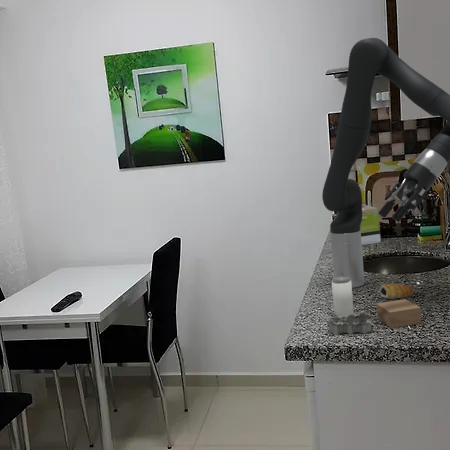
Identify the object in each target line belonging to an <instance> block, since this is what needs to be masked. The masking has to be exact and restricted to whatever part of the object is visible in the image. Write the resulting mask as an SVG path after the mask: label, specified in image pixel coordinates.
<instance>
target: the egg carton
mask: <svg viewBox="0 0 450 450" xmlns="http://www.w3.org/2000/svg"><path fill="white" fill-rule="evenodd" d="M327 322H328V331H329V332H328V333H330V334H334V335H339V334H341V333H346V334H349V335H352V334H354V333H361V334H368V333H369V332H372V317H371V312H370V310H369V309H368V310H366V309H363V310H358V311H357V312H356V313H354V314H351V315H347V316H345V315H342V316H335V317H334V316H328V318H327Z"/></svg>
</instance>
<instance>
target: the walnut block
mask: <svg viewBox="0 0 450 450" xmlns="http://www.w3.org/2000/svg"><path fill="white" fill-rule="evenodd" d="M376 317H377V320H379V321H380V322H382V323H383V324H384V325H385V326H388V327H389V328H390V329H395V328H400V327H406V326H412V325H418V324H422V309H421V307H420V306H419V305H417V304H415V303H414V302H412V301H409V300H407V299H405V298H404V299H403V298H402V299H397V300H392V301H385V302H378V303H376Z"/></svg>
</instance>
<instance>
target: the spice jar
mask: <svg viewBox="0 0 450 450" xmlns="http://www.w3.org/2000/svg"><path fill="white" fill-rule="evenodd" d="M331 291H332V303H333V305H332V306H333V314H334V316H335V317H338V316H342V315H345V316H347V315H351V314H355V312H354V302H353V301H354V300H353V299H354V298H353V288H352V284H351V280H350V277H349V276H345V275H341V276H335V277H334V276H333V277H332V280H331Z"/></svg>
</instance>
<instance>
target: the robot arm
mask: <svg viewBox="0 0 450 450" xmlns="http://www.w3.org/2000/svg"><path fill="white" fill-rule="evenodd" d="M348 57H349V58H348V67H347V79H346V80H347V81H346V87H345V94H344V97H343V102H342V106H341V111H340V114H339V115H340V116H339V120H338V124H337V129H336V135H335V136H336V137H335V142H334V147H333V152H332V156H331V160H330V164H329V167H328V171H327V173H326V175H327V176H326V178H325V182H324V184H323V189H322V195H321V196H322V197H321V198H322V203H323V206H324V207H325V208H326V210H328V211H330V212H338V213H337V216H336V218H334V219H333V220H332V221H331V222H330V225H329V230H330V241H331V242H330V243H331V253H332V266H333V268H332V269H333V277H335V276H341V275H345V276H349V277H350V280H351V284H352V289H354V288H359V287H362V286H364V285H365V275H364V274H365V273H364V272H365V271H364V259H363V245H362V242H361V229H360V225H361V222H362V204H363V196H362V195H363V193H362V190H361V186H360V184H359V183H358V182H357V181H356V180H354V179H352V178H349V176H350V173H351V171H352V168H353V166H354V164H355V163H356V162H357V160H358V158H359V157H360V156H361V154H362V153H363V150H364V149H365V147H366V145H367V143H368V140H369V135H370V130H371V126H372V125H371V124H372V118H373V117H372V116H373V113H372V111H373V110H372V92H373V91H372V89H373V85H374V82H375V78H376V76H377V74H378V75H381V76H383V77H384V78H386V79H387V80H389V82H391V83H393V84H394V85H395V86H396V87H397V88H398V89H400V91H401V92H402V93H403V94H404V96H406V97H407V98H408V99H409V101H411V102H412V103H413V104H415V105H416V106H418V107H419V108H421V110H423V111H424V112H426V113H427V114H428V115H430V116H432V117H440V118H442V119H444V120H446V121H447V123H446V124H445V125H444V126H443V128H442V129H441V130H440V132H439V133H438V134H436V136H434V138H432V140H431V141H430V143H428V145H427V146H426V148H425V149H424V150H423V151H422V152H421V153H420V154H419V155H418V156H417V158H416V159H415V160H414V161H413V163H412V164H411V165H410V166H409V167H408V169H407V170H406V171H405V172H404V174H403V178H404V179H405V181H404V182H403V183H402V184H401V183H400V182H396V183H395V185H394V186H393V188H392V189H391V190H390V191H389V193H388V194H387V195H386V196H385V197H384V200H385V203H384V205H383V206H382V207H381V208H380V210H378V211H379V216H381V217H382V218H387V216H388V215H389V214H390V212H391V211H392V210H393V208H394V207H395V206H397V205H398V204H400V205H399V207H398V208H397V209H396V210H395V212H394V213H393V214H392V215H391V218H392V219H393V220H394V221H395V222H396V223H397V222H400V221H402V219H403V218H404V216H405V215H406V214H407V213H408V212H410V211H411V210H412V211H415V210H416V208H417V207H418V206H419V205H420V203H421V202H422V200H424V198H425V196H426V195H427V194H428V191H429V189H430V188H431V187H432V186H433V185H434V184H435V182H436V181H437V179H438V178H439V177H440V176H441V174H443V172H444V170H445V168H446V166H448V164H449V163H450V94H449V93H448V92H447V91H445V90H444V89H442V88H441V87H440V86H438V84H437V85H436V84H435V83H434V82H433V81H430V80H429V79H428V78H426V77H425V76H424V75H422V74H421V73H419V72H418V71H416V70H415V69H414V68H413V67H411V66H410V65H409V64H408V63H406V62H405V61H404V60H403V59H401V57H399V56H398V54H397V53H395V51H394V50H393V49H392V48H391V47H390V46H389V45H387V44H386V43H385V42H384V41H383V40H382V39H380V38H377V37H369V38H363V39H360V40H359V41H357V42H356V43H355V44H354V45H353V46H352V48H351V49H350V52H349V56H348Z"/></svg>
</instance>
